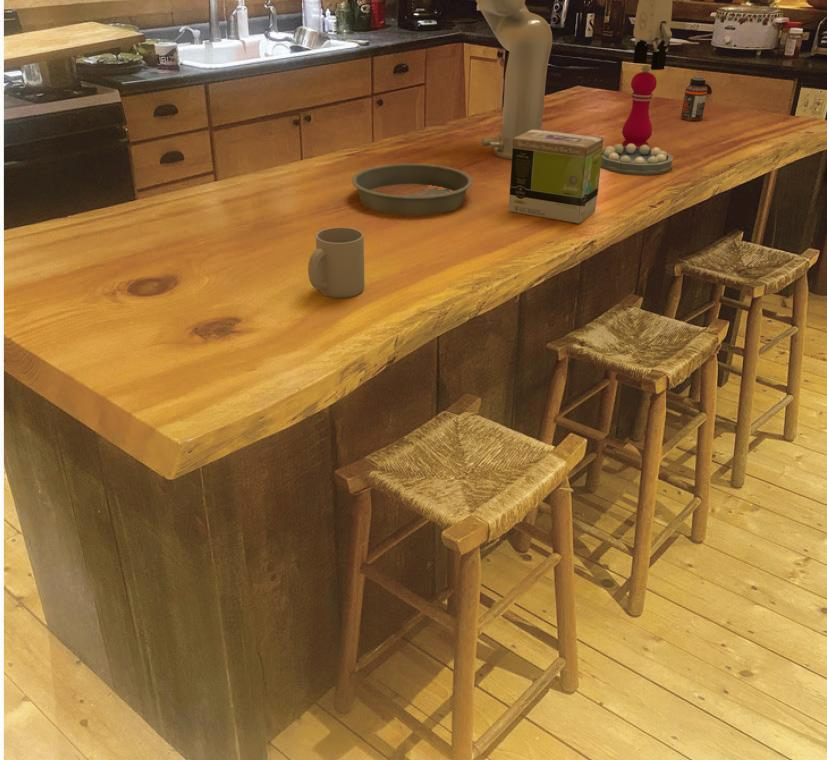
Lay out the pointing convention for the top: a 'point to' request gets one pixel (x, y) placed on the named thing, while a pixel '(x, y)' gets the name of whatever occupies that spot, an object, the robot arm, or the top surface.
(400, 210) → the cake pan
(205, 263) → the top surface
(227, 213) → the top surface
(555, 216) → the tea box
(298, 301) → the top surface
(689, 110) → the supplement bottle
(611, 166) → the bead tray
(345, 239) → the cup
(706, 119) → the top surface
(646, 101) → the pepper mill
